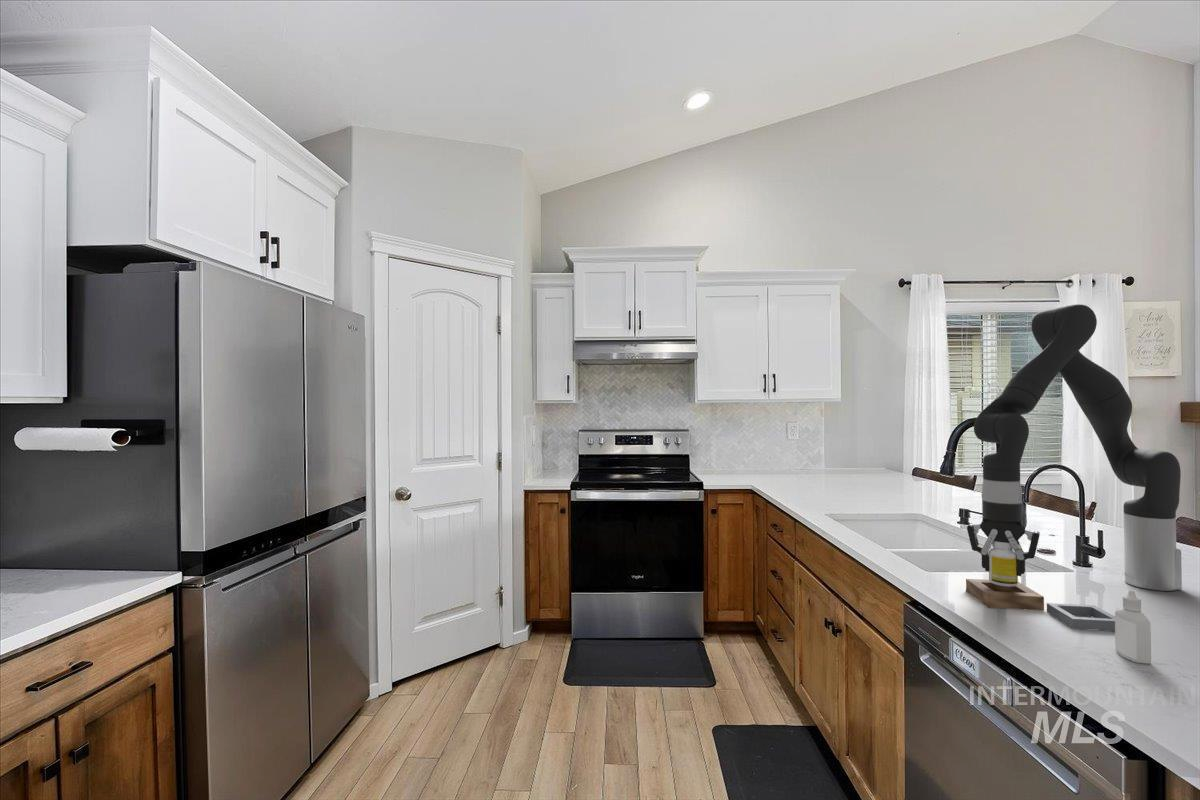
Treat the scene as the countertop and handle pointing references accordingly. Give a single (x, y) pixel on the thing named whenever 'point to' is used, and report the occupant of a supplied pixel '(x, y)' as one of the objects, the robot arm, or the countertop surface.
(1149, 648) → the eye dropper bottle
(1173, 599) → the countertop surface
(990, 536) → the robot arm
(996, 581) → the supplement bottle
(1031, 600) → the socket block
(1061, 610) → the holder
